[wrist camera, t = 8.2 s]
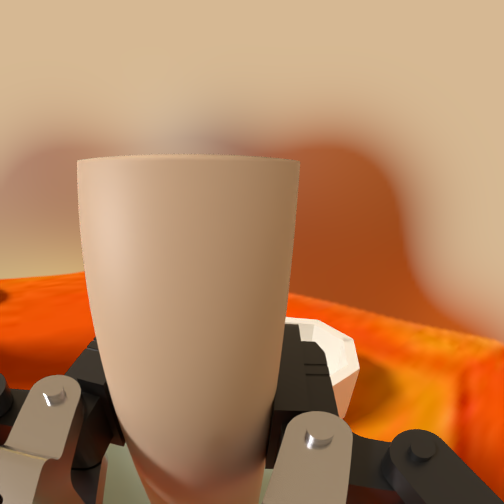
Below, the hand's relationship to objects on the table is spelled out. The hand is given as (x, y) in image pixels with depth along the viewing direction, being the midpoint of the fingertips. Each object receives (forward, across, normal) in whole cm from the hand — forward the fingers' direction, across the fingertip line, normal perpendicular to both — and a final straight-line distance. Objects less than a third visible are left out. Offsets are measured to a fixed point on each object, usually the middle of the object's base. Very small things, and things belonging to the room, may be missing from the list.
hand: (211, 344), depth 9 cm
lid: (-3, 0, +8) cm, 8 cm away
